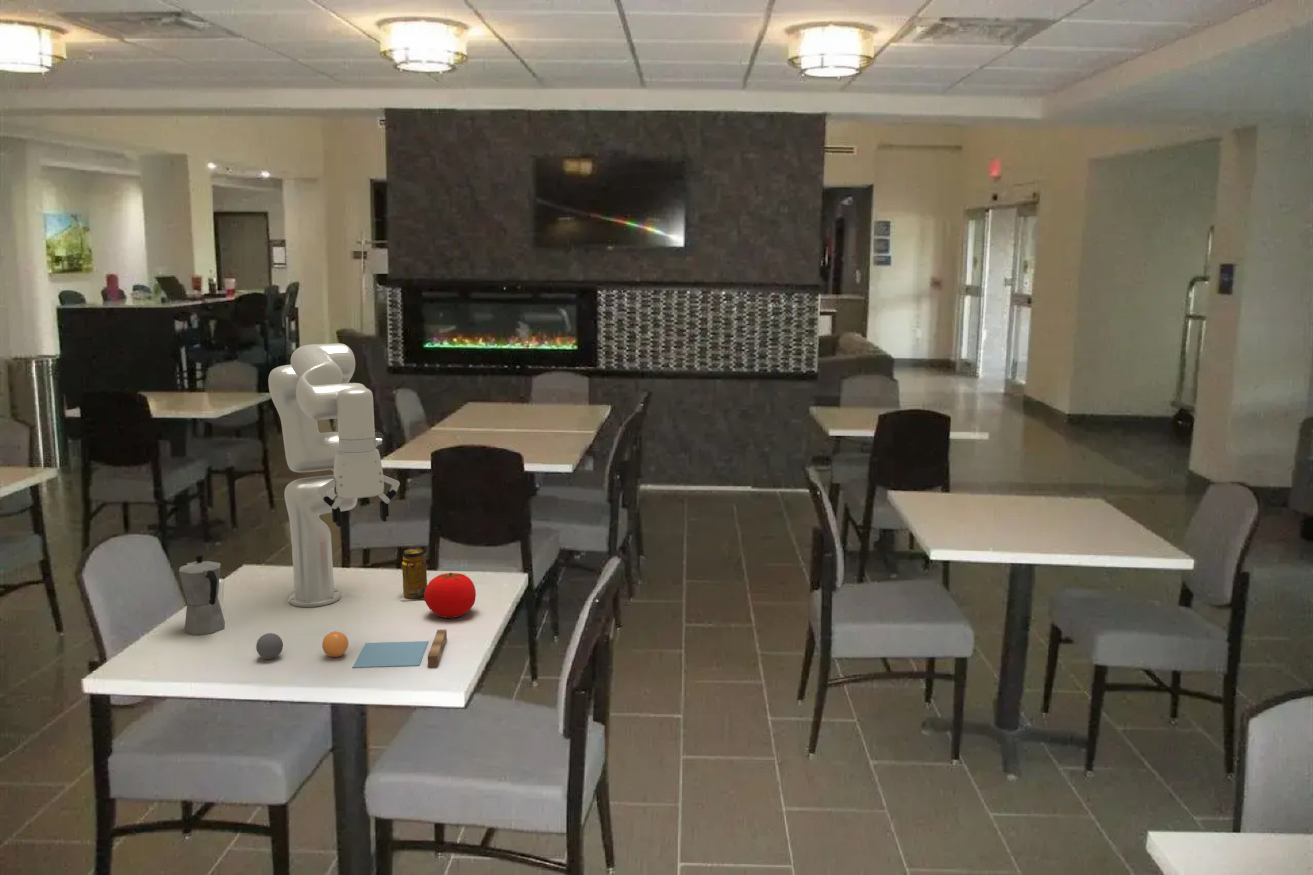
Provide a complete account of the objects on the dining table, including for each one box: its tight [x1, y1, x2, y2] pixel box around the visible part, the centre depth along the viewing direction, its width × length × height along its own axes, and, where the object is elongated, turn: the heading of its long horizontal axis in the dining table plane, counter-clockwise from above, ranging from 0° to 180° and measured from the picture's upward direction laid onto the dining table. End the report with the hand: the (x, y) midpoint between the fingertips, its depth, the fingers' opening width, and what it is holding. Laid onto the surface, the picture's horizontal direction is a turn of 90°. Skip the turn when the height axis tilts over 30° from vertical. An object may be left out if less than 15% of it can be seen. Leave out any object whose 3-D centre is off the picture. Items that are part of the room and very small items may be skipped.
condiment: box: [400, 548, 428, 602], centre depth 266 cm, size 7×8×12 cm
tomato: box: [423, 572, 477, 618], centre depth 252 cm, size 11×12×10 cm
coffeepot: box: [178, 554, 226, 636], centre depth 241 cm, size 15×9×18 cm, turn 43°
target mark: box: [352, 640, 429, 669], centre depth 227 cm, size 14×14×1 cm
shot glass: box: [218, 578, 225, 610], centre depth 257 cm, size 7×7×7 cm
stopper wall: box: [427, 629, 448, 668], centre depth 228 cm, size 16×2×2 cm, turn 4°
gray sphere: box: [255, 632, 284, 660], centre depth 225 cm, size 6×6×6 cm
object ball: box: [321, 630, 349, 658], centre depth 226 cm, size 6×6×6 cm
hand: (361, 522), depth 225 cm, fingers open, 9 cm apart
